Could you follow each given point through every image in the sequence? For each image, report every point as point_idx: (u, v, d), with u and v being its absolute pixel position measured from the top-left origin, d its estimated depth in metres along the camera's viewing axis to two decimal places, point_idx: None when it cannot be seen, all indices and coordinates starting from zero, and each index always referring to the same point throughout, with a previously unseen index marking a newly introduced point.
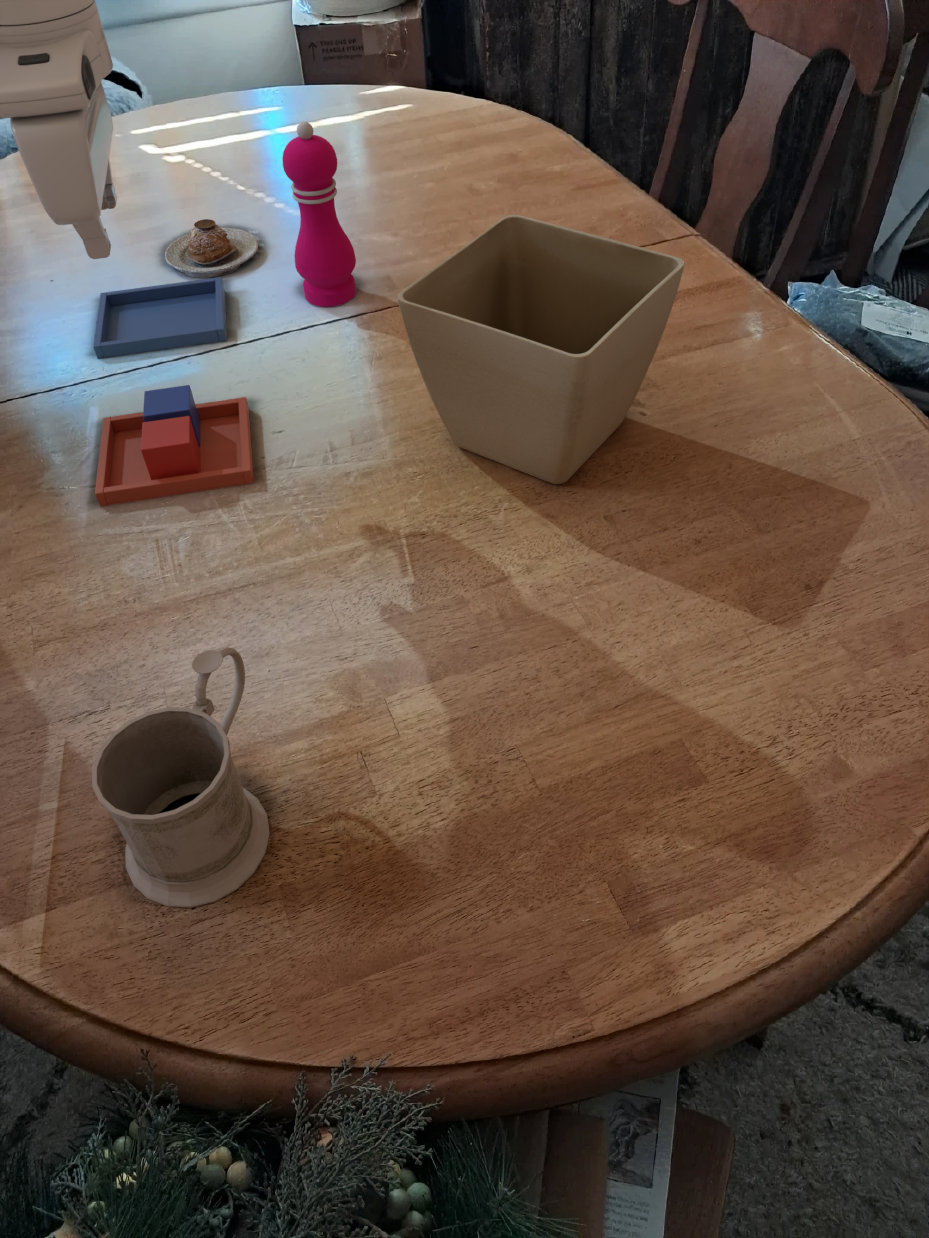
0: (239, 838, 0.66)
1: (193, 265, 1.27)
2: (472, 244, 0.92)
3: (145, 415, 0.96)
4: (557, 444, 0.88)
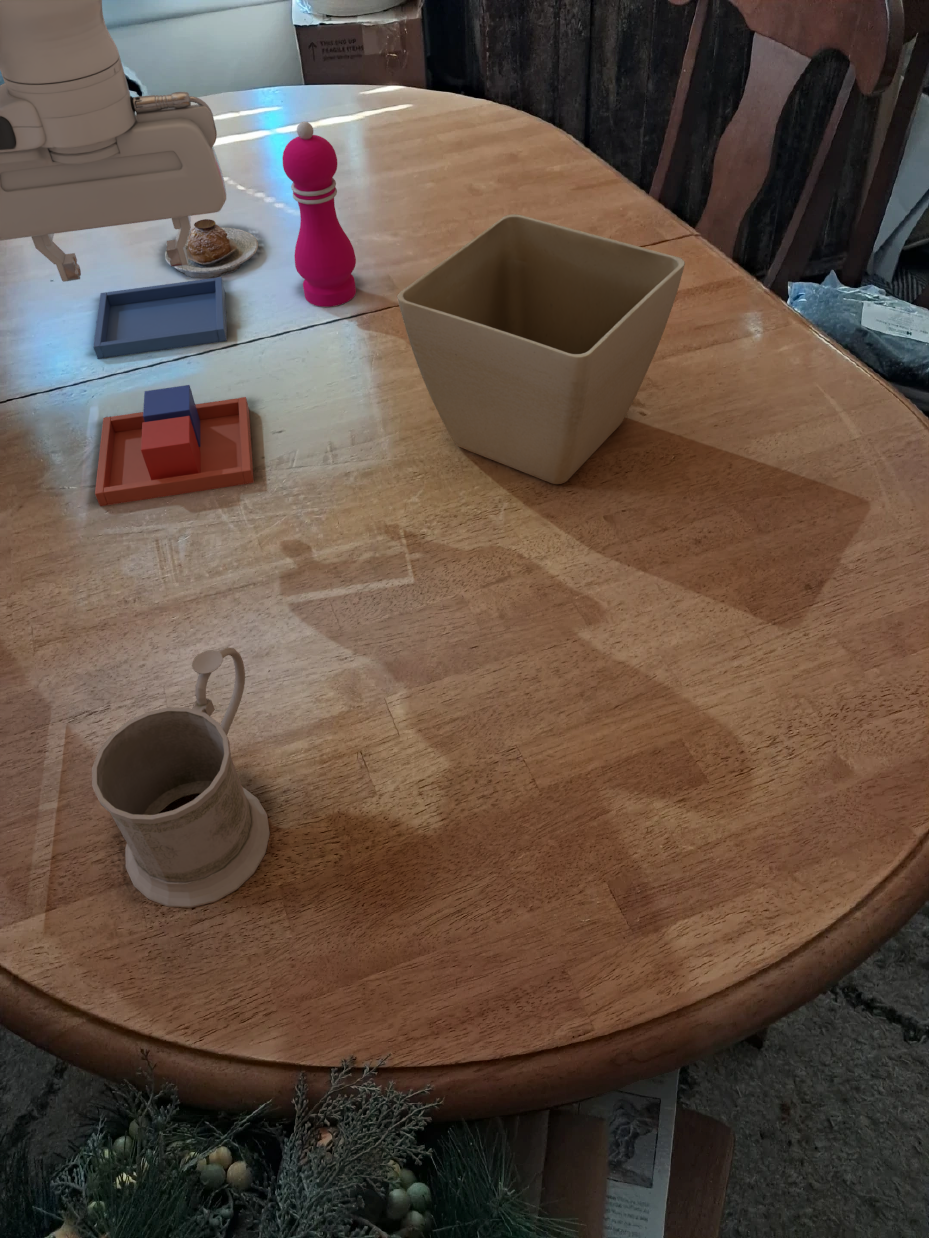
0: (239, 838, 0.66)
1: (193, 265, 1.27)
2: (472, 244, 0.92)
3: (145, 415, 0.96)
4: (557, 444, 0.88)
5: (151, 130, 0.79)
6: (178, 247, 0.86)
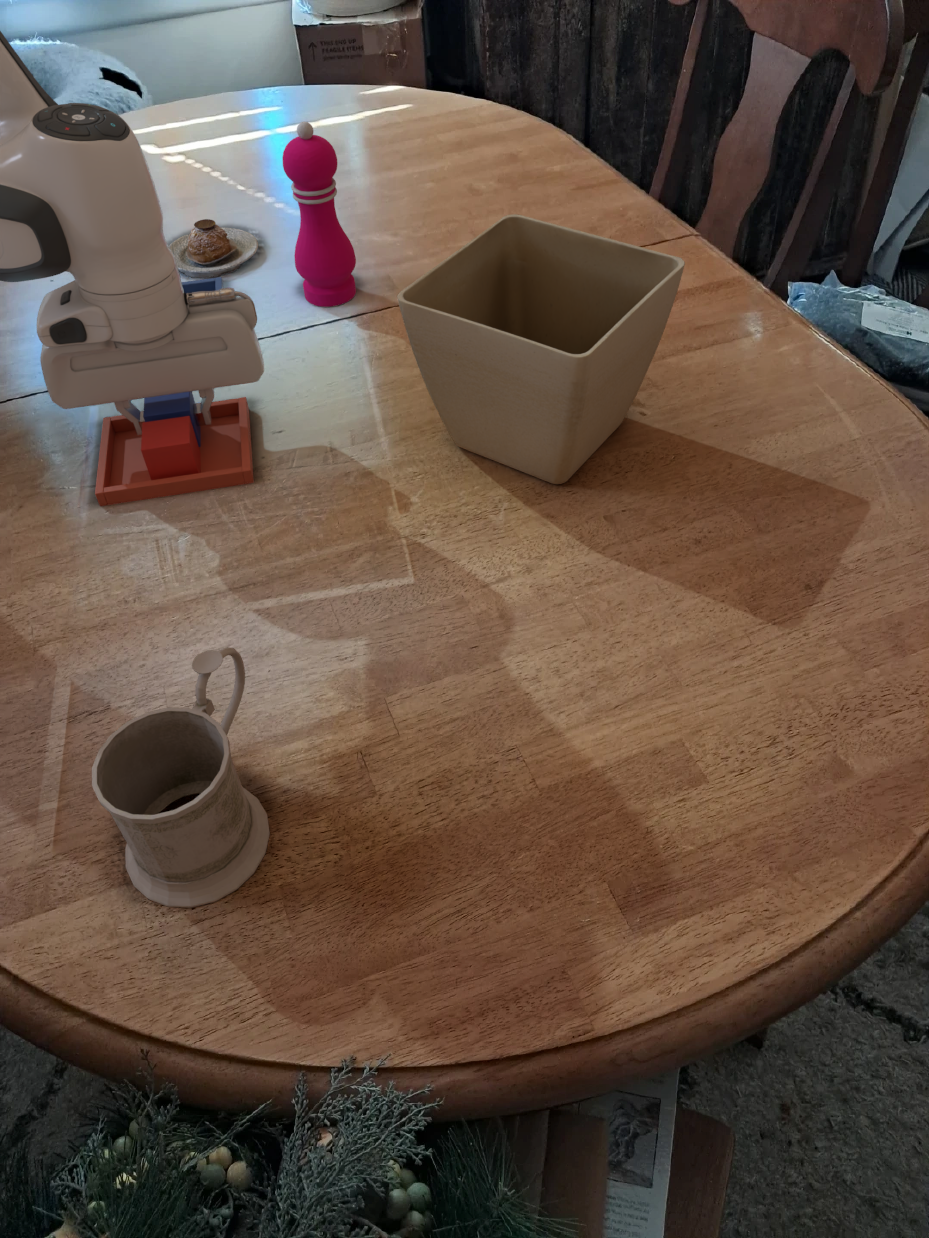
0: (239, 838, 0.66)
1: (193, 265, 1.27)
2: (472, 244, 0.92)
3: (145, 415, 0.96)
4: (557, 444, 0.87)
5: (201, 321, 0.91)
6: (203, 411, 0.98)
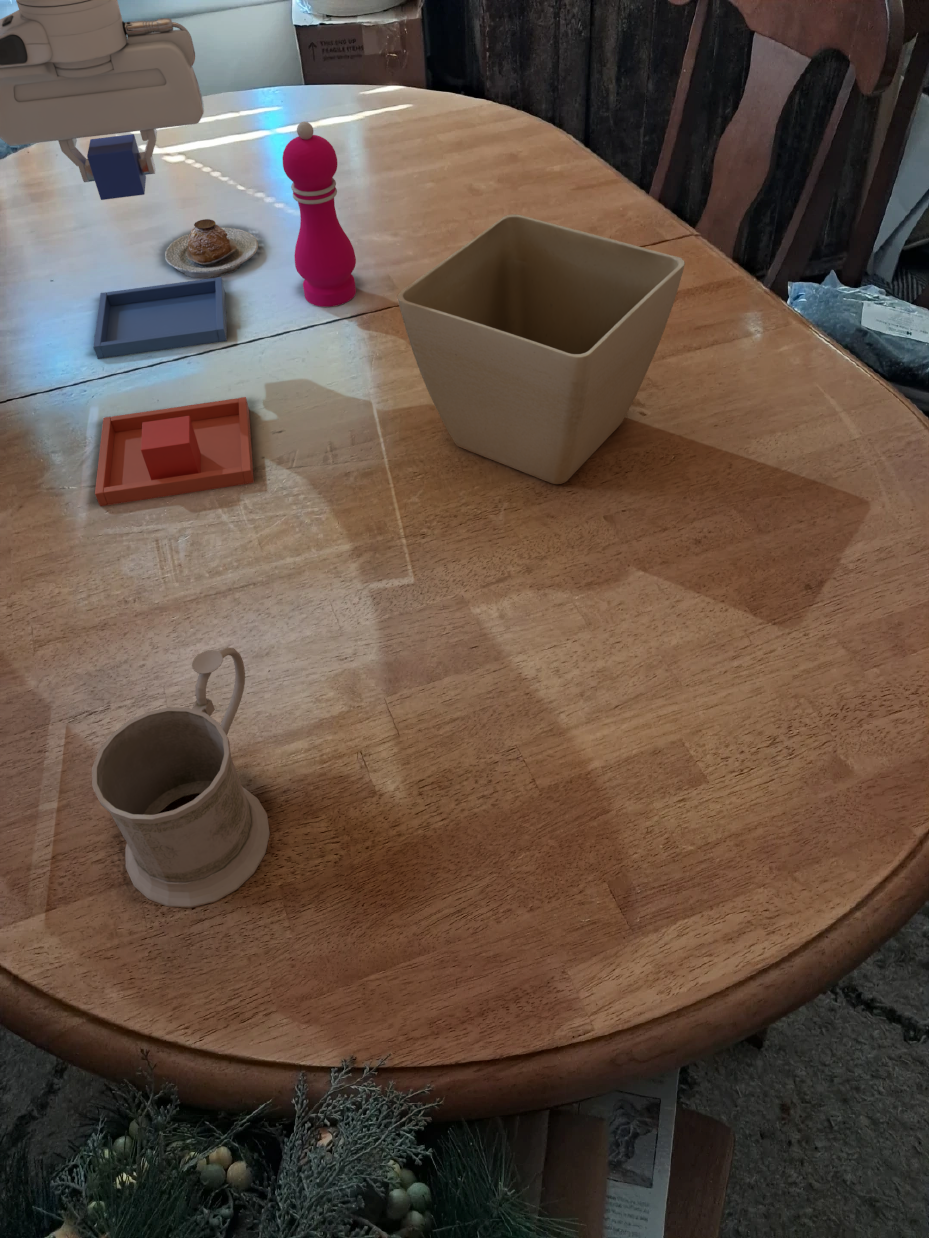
0: (239, 837, 0.66)
1: (193, 265, 1.27)
2: (472, 244, 0.92)
3: (89, 155, 0.99)
4: (557, 444, 0.88)
5: (140, 50, 0.94)
6: (146, 157, 1.02)
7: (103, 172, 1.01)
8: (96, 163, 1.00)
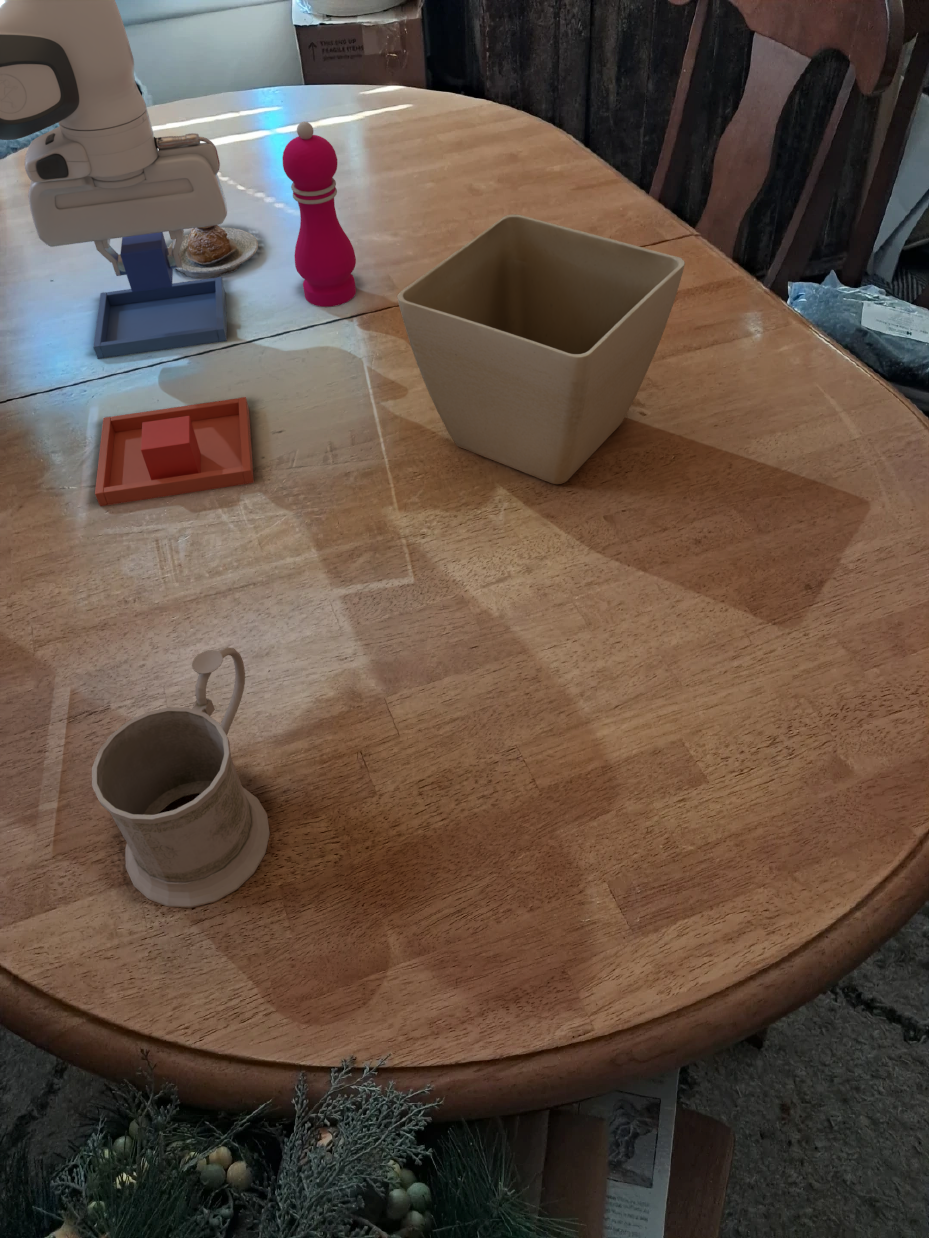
0: (239, 837, 0.66)
1: (193, 265, 1.27)
2: (472, 244, 0.92)
3: (122, 254, 1.08)
4: (557, 444, 0.87)
5: (170, 162, 1.03)
6: (174, 253, 1.11)
7: (135, 268, 1.10)
8: (129, 260, 1.09)
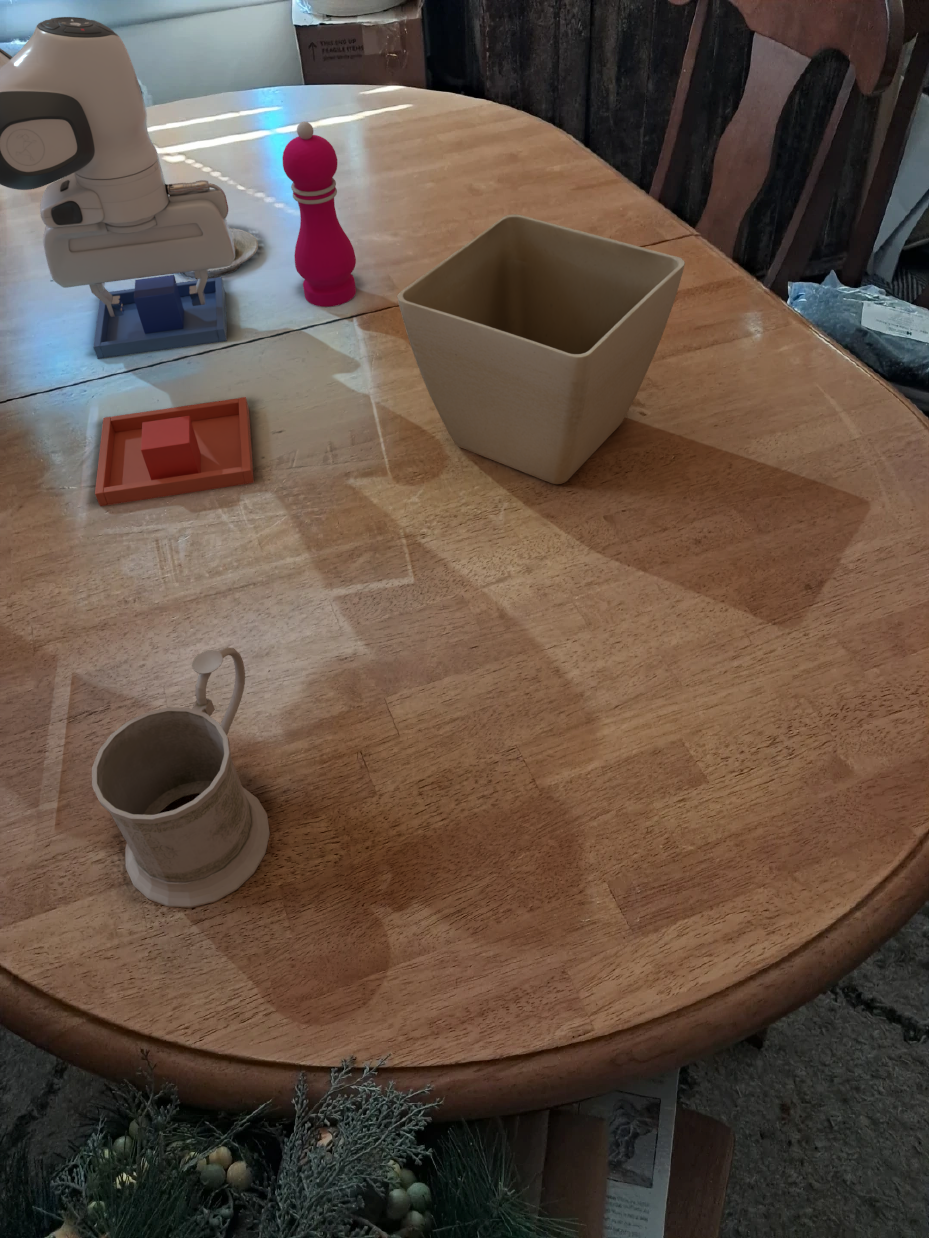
0: (239, 837, 0.66)
1: None
2: (472, 244, 0.92)
3: (135, 297, 1.12)
4: (557, 444, 0.87)
5: (180, 208, 1.07)
6: (198, 291, 1.14)
7: (147, 311, 1.13)
8: (142, 303, 1.13)
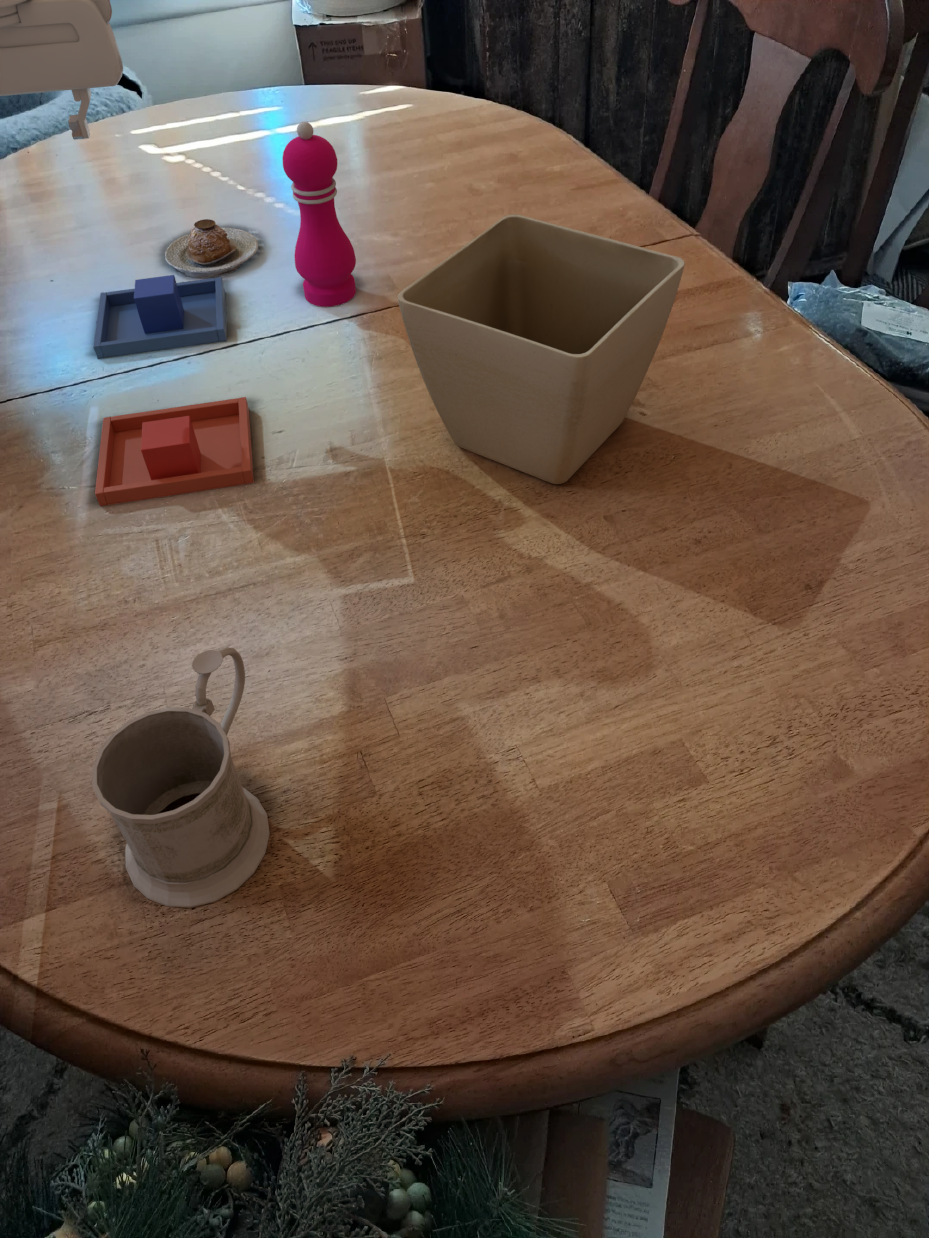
0: (239, 838, 0.66)
1: (193, 265, 1.27)
2: (472, 244, 0.92)
3: (135, 297, 1.12)
4: (557, 444, 0.87)
5: (49, 2, 0.87)
6: (79, 120, 0.94)
7: (147, 311, 1.13)
8: (142, 303, 1.13)
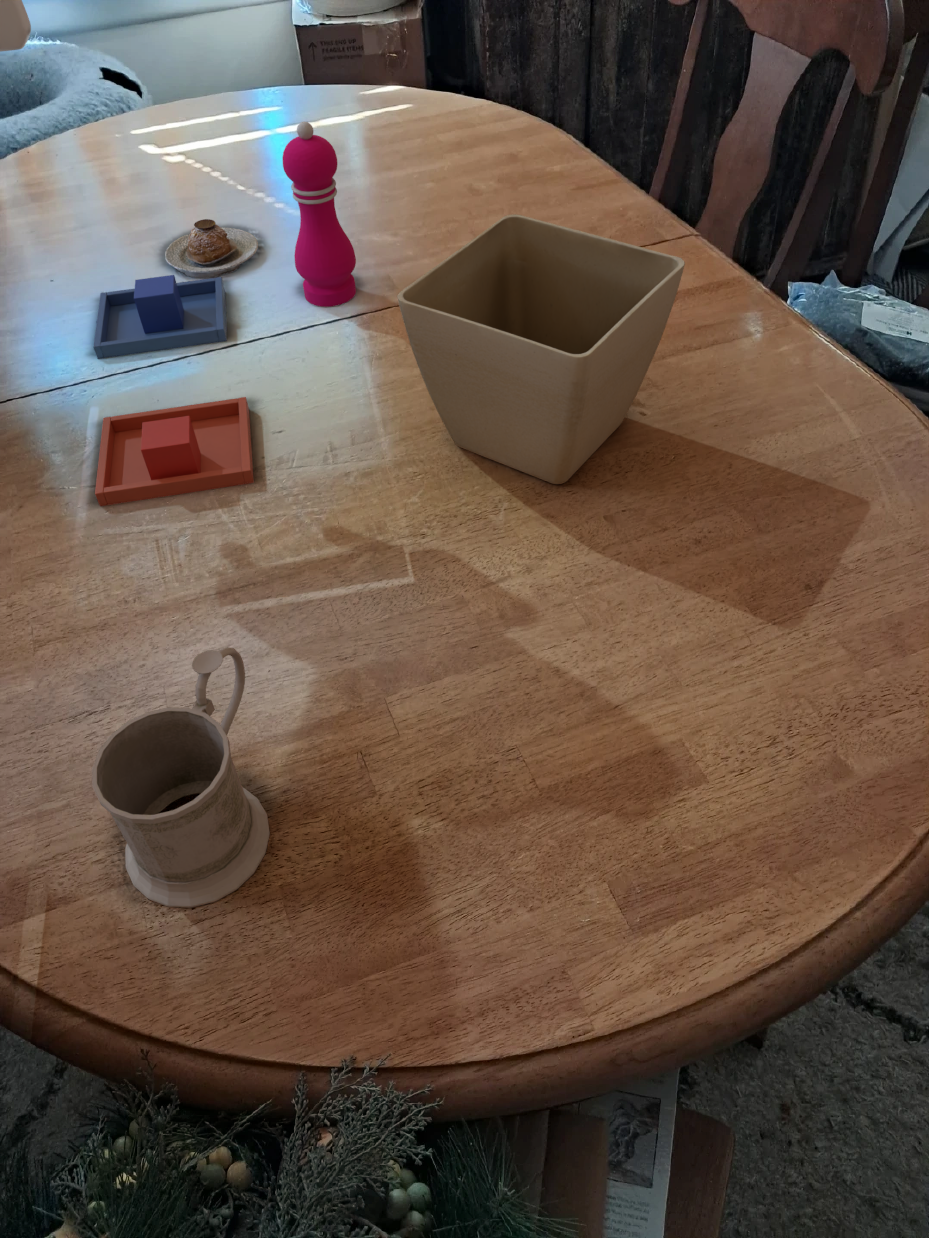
0: (239, 837, 0.66)
1: (193, 265, 1.27)
2: (472, 244, 0.92)
3: (135, 297, 1.12)
4: (557, 444, 0.88)
5: None
6: None
7: (147, 311, 1.13)
8: (142, 303, 1.13)
